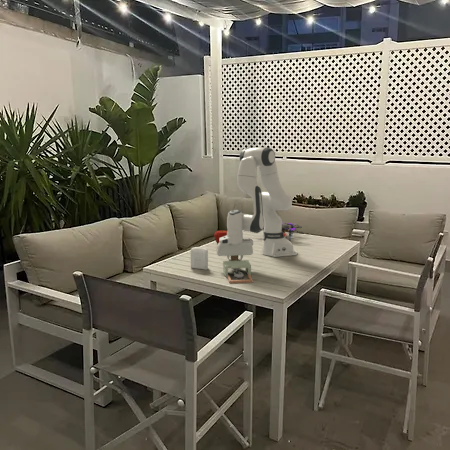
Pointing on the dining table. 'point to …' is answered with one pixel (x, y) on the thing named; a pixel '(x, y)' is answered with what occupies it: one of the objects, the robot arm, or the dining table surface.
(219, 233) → the apple
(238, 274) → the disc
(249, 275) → the frame
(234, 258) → the wooden handled metal tool
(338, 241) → the dining table surface
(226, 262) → the stand
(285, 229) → the drone
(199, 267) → the photo printer
